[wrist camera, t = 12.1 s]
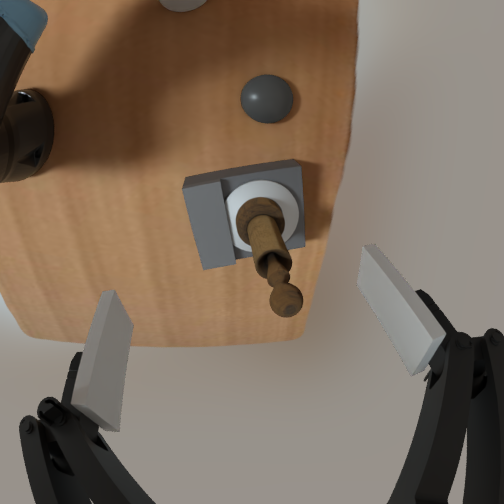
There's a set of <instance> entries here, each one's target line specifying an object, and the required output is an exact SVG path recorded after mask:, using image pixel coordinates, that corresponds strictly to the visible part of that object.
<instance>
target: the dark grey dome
mask: <svg viewBox="0 0 504 504" xmlns="http://www.w3.org/2000/svg"><path fill="white" fill-rule="evenodd" d="M241 104H242V107H243V109H244V111H245V112H246V114H247V115H248V116H249V117H251V118H252V119H254V120H256V121H258V122H261V123H274V122H277V121H279V120H281V119H283V118H284V117H285V116H286V115H287V114H288V113H289V112H290V110H291V108H292V104H293V94H292V91H291V89H290V87H289V85H288V84H287V83H286V82H285V81H284V80H282V79H281V78H279V77H277V76H274V75H260V76H257V77H255V78H253V79H251V80H250V81H249V82H247V84H246V85H245V86H244V88H243V90H242V93H241Z"/></svg>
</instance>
